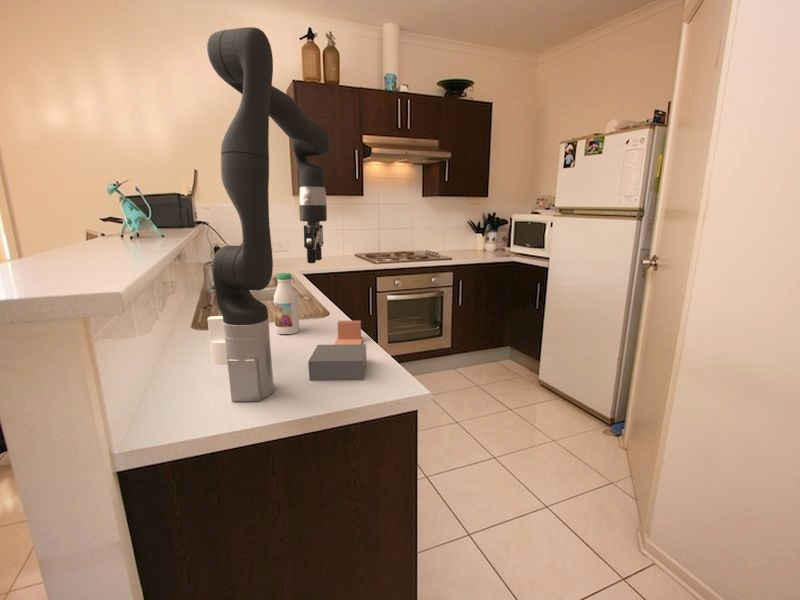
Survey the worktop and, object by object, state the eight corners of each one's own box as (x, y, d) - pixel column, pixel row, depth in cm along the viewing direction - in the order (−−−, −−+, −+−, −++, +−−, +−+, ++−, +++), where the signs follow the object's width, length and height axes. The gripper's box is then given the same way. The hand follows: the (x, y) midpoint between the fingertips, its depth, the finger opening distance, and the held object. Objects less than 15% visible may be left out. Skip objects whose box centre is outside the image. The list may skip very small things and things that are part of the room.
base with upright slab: (209, 365, 108) (204, 322, 106) (214, 354, 117) (210, 314, 114) (245, 362, 111) (241, 319, 108) (247, 351, 119) (244, 311, 116)
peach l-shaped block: (356, 362, 110) (356, 341, 108) (327, 362, 109) (326, 341, 108) (362, 338, 130) (362, 320, 128) (337, 338, 129) (336, 320, 128)
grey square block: (362, 380, 99) (362, 360, 98) (309, 380, 99) (308, 361, 98) (366, 360, 111) (366, 343, 110) (319, 361, 111) (318, 343, 110)
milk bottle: (288, 327, 142) (284, 271, 138) (304, 330, 138) (300, 272, 134) (270, 333, 136) (266, 274, 131) (287, 337, 132) (283, 276, 128)
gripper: (321, 203, 107) (323, 264, 111) (330, 205, 121) (331, 259, 124) (293, 203, 107) (295, 264, 111) (305, 204, 121) (307, 259, 124)
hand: (314, 261), depth 117 cm, fingers open, 8 cm apart
